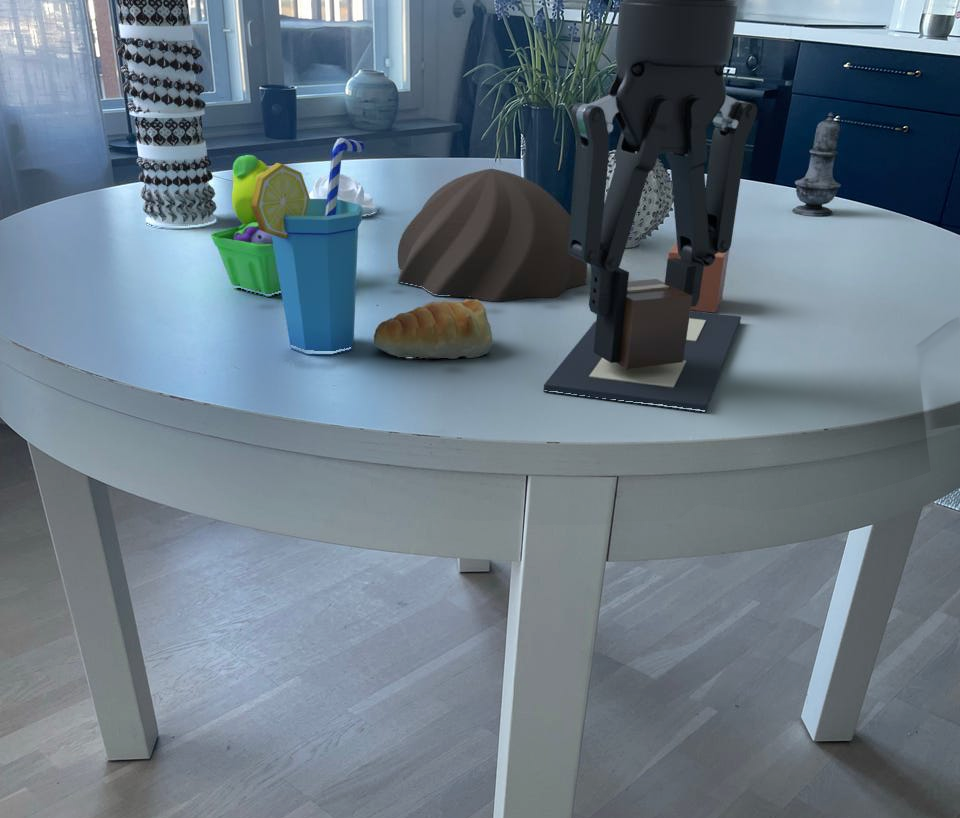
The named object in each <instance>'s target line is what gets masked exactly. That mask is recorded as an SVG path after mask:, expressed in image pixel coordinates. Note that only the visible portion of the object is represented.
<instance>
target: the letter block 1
mask: <svg viewBox="0 0 960 818" xmlns="http://www.w3.org/2000/svg"><path fill="white" fill-rule="evenodd" d="M691 302H692V295H690V294H688V293H686V292H684V291H681V290H679V289H677V288H675V287H673V286H671V285H668V284H666V283H665V281H662V280H659V279H658V278H651V279H642V280H641V279H640V280H630V281H629V280H628V288H627V297H626V304H625V314H624V323H623V333H622V343H621V353H620V362H616V363H618V364H619V365H621V366H622V367H624V368H626V369H632V368H640V367H648V366H656V365H664V364H672V363H680V362H683V360H684V353H685V345H686V338H687V331H688V324H689V317H690V311H691V310H690V309H691Z"/></svg>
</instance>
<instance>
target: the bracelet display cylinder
mask: <svg viewBox="0 0 960 818" xmlns="http://www.w3.org/2000/svg"><path fill="white" fill-rule="evenodd" d="M116 5H117V11H118V17H119V24H118V28H119V35H114V38H115V40H116V41H118V42H119V44H118V45H117V46H116V47H115V51H116V55H117V56H118V57H120V58H122V59H123V60H126V61H127V62H126V63H124V64H123V65H122V66H121V67H120V70H119V71H120V74H121V77H123V78H125V79H127V80H126V81H125V82H123V84H122V87H123V92H124V93H126V94H128V95H129V96H130V97H132V99H130V101H129V102H128V103H127V104H126V106H127V111H128V112H129V115H130V116H133V118H134V125H135V132H136V138H137V141H136V149H137V154H138V158H137V159H136V163H135V165H136V166H137V167H138V168H140V169H141V170H142V171H141V172H140V173H138V180H139V181H140V182H142V183H144V186H143V187H142V188H141V189H140V197H141V199H143V200H144V203H143V205H142V210H143V212H144V213H145V214H146V215H147V217H145V223H146V222H148V223H150V224H152V225H159V226H188V225H189V226H190V225H198V224H204V223H208V222H212V221H214V220H215V219H217V221H216V222H215V223H213V224H210V225H206V226H201V227H193V228H164V229H167V230H186V229H187V230H189V229H198V228H204V227H208V226H213V225H215V224H216V223H218V218H217V215H216V214H214V213H215V211H216V210H217V204H216V202H215V201H214V200H213V199H214V197H215V196H216V192H215V189H214V188H213V186H211V185H210V183H209V182H210V181H211V180H213V179H214V175H213V173H212V171H210V170H208V168H209V167H210V166H211V165H212V160H211V158H210V157H209V156H208V151H207V142H206V140H205V137H204V129H203V128H204V127H203V122H202V120H203V119H202V116H203V115H205V114H206V113H205V112H206V111H205V107H206V105H207V103H206V102H205V101H204V100H202V99H201V97H199V96H200V95H201V94H202V93H204V91H205V87H204V86H203V85H202V84H200V83H199V82H197V79H196V75H197V77H199V75H200V74H201V73H202V72H203V71H204V68H203V66H202V65H201V64H199V63H198V62H196V61H197V60H198V59H199V58H200V57H201V56H202V51H201V50H200V49H199V48H197V46H195V45H194V44H192V41H194V39H195V38H194V30H193V29H194V28H193V25H192V24H191V18H190V9H189V0H116ZM146 225H147V226H150V227H152V228H157V229H162V228H161V227H155V226H151V225H149V224H146Z"/></svg>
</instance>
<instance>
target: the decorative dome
mask: <svg viewBox="0 0 960 818" xmlns="http://www.w3.org/2000/svg"><path fill="white" fill-rule="evenodd" d="M570 217H571V214H570V213H568V211H567V209H565V208H564V207H563V206H562V204H561V203H560V202H559V201H557V199H555V197H554V196H552V195H551V194H550V193H549V192H548V191H547V190H546V189H544V188H543V187H542V186H540V185H538V184H536V183H535V182H534V181H531V180H529V179H528V178H525V177H523V176H520V175H518V174H515V173H511V172H509V171H504V170H500V169H495V168H487V169H481V170H478V171H477V170H476V171H474V172H471V173H467V174H464V175H462V176H459V177H457V178H454V179H453V180H451V181H448V182H447V183H446V184H444V185H442V186H441V187H440V188H438V189H437V190H436V191H435V192H434V193H433V194H432V195H431V196H430V197H429V198H428V199H427V200H426V202H425V203H424V205H423V206H422V208H421V210H420V211H419V212H418V213H417V214H416V215H415V216H414V217H413V218H412V220H410V222H409V224H408V225H407V226H406V227H405V229H404V231H403V233H402V234H401V236H400V239H399V242H398V247H397V266H398V269H399V268H400V269H401V270H402V271H401V270H400V269H399V270H400V274H399V277H398V279H397V283H398V284H402V285H405V286H410V287H416V288H420V289H422V290H424V291H425V292H427V293H428V294H430V295H432V296H434V297H438V296H437V295H450V296H445V297H449V298H450V297H452V298H471V299H478V300H483V301H489V302H496V303H498V302H506V301H512V300H517V299H522V298H523V299H524V298H556V297H559V296H561V294H563V292H564V291H565V290H567V289H571V288H575V287H579V286H585V285H586V284H587V278H588V277H587V276H588V264H587V263H585V262H583V261H581V260H579V259H577V258H575V257H573V256H571V255H570V254H569V252H568V242H569V230H570ZM398 281H399V282H398ZM400 282H403V283H400ZM404 283H408V284H404ZM409 284H413V285H417V286H413V285H409ZM418 286H422V287H424V288H425V289H427V290H428V291H430V292H432V293H433V294H437V295H433V294H431V293H430V292H428V291H427V290H425V289H424V288H422V287H418ZM469 296H470V297H469Z"/></svg>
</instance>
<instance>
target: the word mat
mask: <svg viewBox="0 0 960 818" xmlns="http://www.w3.org/2000/svg"><path fill="white" fill-rule="evenodd" d="M741 320H742V316H740V315H730V314H722V313H712V312H703V311H693V310H690V317H689V324H688V331H687V338H686V345H685V353H684V360H683V362H680V363H672V364H664V365H656V366H648V367H640V368H632V369H626V368H624V367H622V366H621V365H619V364H618V363H610V362H609V361H607V360H605V359H604V358H602V357H600V356H599V355H597V354H595V353H594V341H595V330H596V320H595V321H594V322H593V324H592V325H591V326H590V327H589V329H588V330H587V331H586V332H585V334H583V336H582V337H581V338H580V339H579V341H577V343H576V345H575V346H574V347H573V348H572V349H571V350H570V352H569V353H568V355H567V356H566V357H565V358H564V359H563V360H562V362H561V363H560V364H559V366H558V367H557V368H556V369H555V370H554V371H553V373H552V374H550V375H551V376H550V377H549V378H548V379H547V380H546V381H545V383H544V384H543V392H544V393H550V394H557V395H565V396H571V397H572V396H573V397H579V398H588V399H596V400H604V401H609V402H610V401H611V402H617V403H618V402H619V403H625V404H632V405H633V404H634V405H640V406H641V405H642V406H649V407H657V408H666V409H672V410H681V411H688V412H695V413H702V414H703V413H704V414H705V413H706V412H702V411H695V410H687V409H679V408H672V407H664V406H656V405H648V404H641V403H633V402H643V403H653V404H663V405H667V406H677V407H683V408H692V409H700V410H706V411H707V410H708V407H709V404H710V402H711V399H712V396H713V394H714V392H715V389H716V386H717V384H718V381H719V378H720V376H721V373H722V371H723V368H724V365H725V363H726V360H727V357H728V355H729V353H730V350H731V347H732V345H733V343H734V340H735V337H736V334H737V332H738V329H739V327H740V325H741ZM716 383H717V384H716ZM715 385H716V386H715ZM714 388H715V389H714ZM544 390H547V391H544ZM548 391H558V392H563V393H556V392H548ZM564 393H571V394H577V395H571V394H564ZM712 393H713V394H712ZM579 395H585V396H579ZM587 396H590V397H587ZM594 397H598V398H594ZM602 398H606V399H602ZM710 398H711V399H710ZM610 399H616V400H610ZM618 400H624V401H618ZM625 401H633V402H625ZM709 401H710V402H709ZM708 403H709V404H708ZM707 406H708V407H707ZM706 408H707V409H706Z"/></svg>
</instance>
